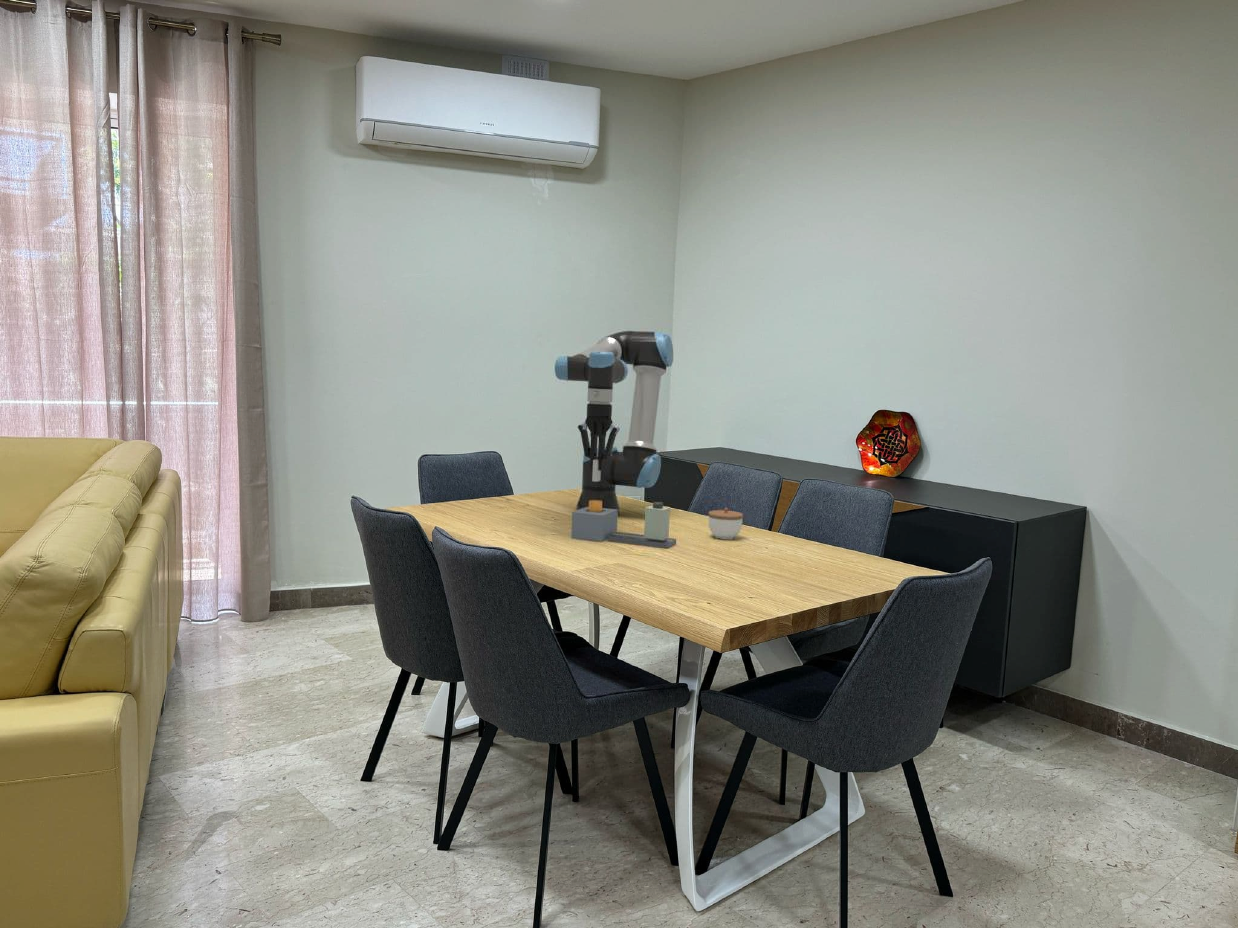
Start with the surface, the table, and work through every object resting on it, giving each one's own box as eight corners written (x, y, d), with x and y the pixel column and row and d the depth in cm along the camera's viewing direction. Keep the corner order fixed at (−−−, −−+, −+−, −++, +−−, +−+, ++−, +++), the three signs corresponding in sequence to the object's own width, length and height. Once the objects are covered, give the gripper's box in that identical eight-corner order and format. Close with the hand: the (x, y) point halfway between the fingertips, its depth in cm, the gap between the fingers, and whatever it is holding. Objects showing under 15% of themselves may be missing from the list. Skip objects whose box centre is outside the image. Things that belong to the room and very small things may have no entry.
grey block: (571, 538, 283) (572, 511, 282) (587, 531, 294) (588, 506, 293) (601, 541, 279) (602, 515, 278) (616, 535, 290) (617, 509, 289)
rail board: (607, 541, 281) (607, 535, 281) (617, 536, 288) (617, 531, 288) (667, 548, 274) (667, 543, 274) (676, 543, 281) (676, 538, 281)
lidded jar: (743, 541, 289) (745, 511, 288) (708, 540, 289) (710, 510, 288) (739, 535, 300) (741, 506, 298) (706, 533, 300) (707, 504, 299)
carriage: (643, 537, 278) (645, 502, 277) (649, 535, 283) (651, 500, 281) (663, 540, 276) (664, 504, 274) (668, 537, 280) (670, 502, 279)
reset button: (586, 520, 285) (587, 501, 284) (591, 518, 289) (592, 499, 288) (598, 522, 283) (599, 502, 283) (603, 520, 287) (604, 500, 286)
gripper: (574, 402, 281) (571, 480, 283) (615, 404, 276) (611, 484, 278) (584, 401, 287) (581, 477, 290) (624, 404, 283) (620, 481, 285)
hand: (596, 480), depth 284 cm, fingers closed
